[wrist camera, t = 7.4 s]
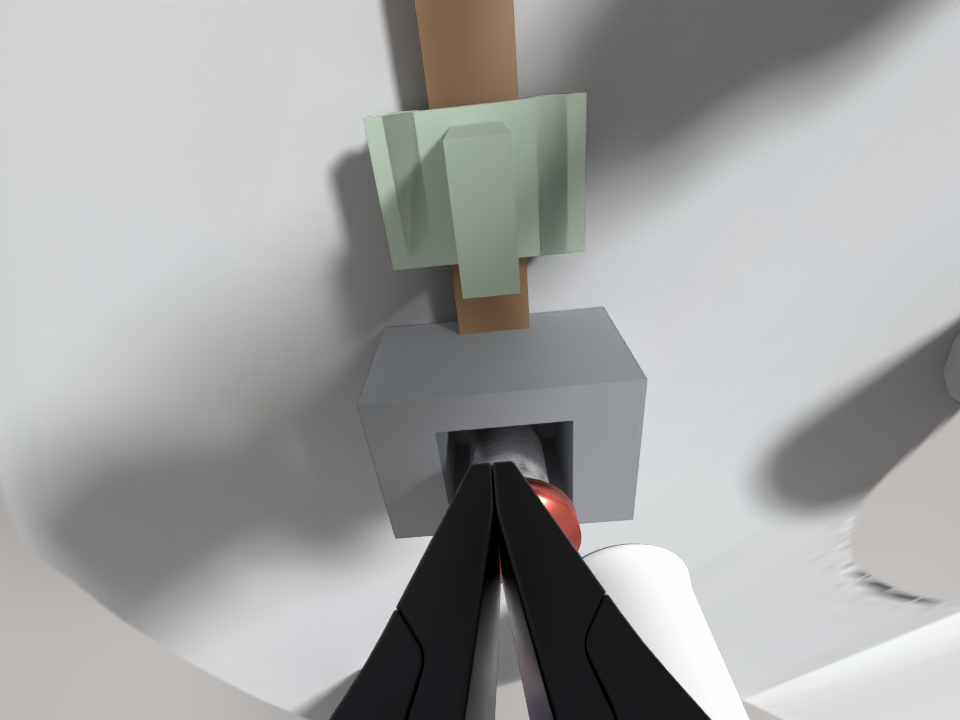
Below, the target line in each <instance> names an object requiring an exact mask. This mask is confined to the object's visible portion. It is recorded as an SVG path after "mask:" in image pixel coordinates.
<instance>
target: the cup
mask: <svg viewBox="0 0 960 720" xmlns="http://www.w3.org/2000/svg"><path fill="white" fill-rule="evenodd" d="M943 375H944V378H945V382H946V385H947V389H948V392H949V396H950V397H952V398H953V399H955V400H957V401H958V402H960V333H959V334H958V335H957V336H956V338H955V339H954V341H953V344H952V347H951V349H950V352H949V355H948V358H947V360H946V363H945V366H944V369H943Z"/></svg>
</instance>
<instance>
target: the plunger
mask: <svg viewBox="0 0 960 720" xmlns="http://www.w3.org/2000/svg"><path fill="white" fill-rule="evenodd" d="M502 461H512V462H514V463H515V464H516V466H517V467H518V469H519V470H520V471H521V473H522V474H523V476H524V477H525V479H526V480H527V481H528V483H529V484H530V486H531V487H532V488H533V490H534V491H535V493H536V494H537V495H538V497H539V498H540V500H541V501H542V502H543V504H544V505H545V507H546V508H547V509H548V511H549V512H550V514H551V515H552V516H553V518H554V519H555V521H556V522H557V523H558V525H559V526H560V528H561V529H562V530H563V532H564V533H565V535H566V536H567V537H568V539H569V540H570V542H571V543H572V544H573V546H574V547H575V549H576V550H577V551H578V550H579V547H580V544H581V531H580V526H579V522H578V518H577V514H576V511H575V507H574V505H573V503H572V501H571V500H570V499H569V497H568V496H567V495H566V494H565V493H564V492H563V491H561V490H560V489H559V488H557V487H555V486H554V485H552V484H550V483H549V479H548V474H547V469H546V464H545V459H544V454H543V449H542V444H541V439H540V434H539V429H538V424H528V425H516V426H505V427H494V428H482V429H471V430H470V466H471V465H472V464H477V463H490V464H491V465H493V463H494V462H502ZM499 557H500V555H499ZM500 573H501V566H500ZM501 583H503V582H502V575H501Z"/></svg>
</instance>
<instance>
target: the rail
mask: <svg viewBox="0 0 960 720" xmlns="http://www.w3.org/2000/svg"><path fill="white" fill-rule="evenodd" d="M414 2H415V9H416V17H417V24H418V31H419V39H420V46H421V53H422V61H423V68H424V75H425V83H426V90H427V97H428V105H429V110H431V109H439V108H448V107H457V106H466V105H475V104H483V103H492V102H501V101H510V100H518V84H517V64H516V44H515V24H514V4H513V0H414ZM450 266H451V273H452V280H453V288H454V295H455V302H456V310H457V317H458V324H459V332H460V335H463V334H473V333H484V332H494V331H504V330H515V329H525V328H530V327H529V306H528V286H527V266H526V257H522V258H519V274H520V291H521V293H519V294H509V295H499V296H488V297H478V298H468V299H463V295H462V288H461V280H460V272H459V264H453V265H450Z"/></svg>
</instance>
